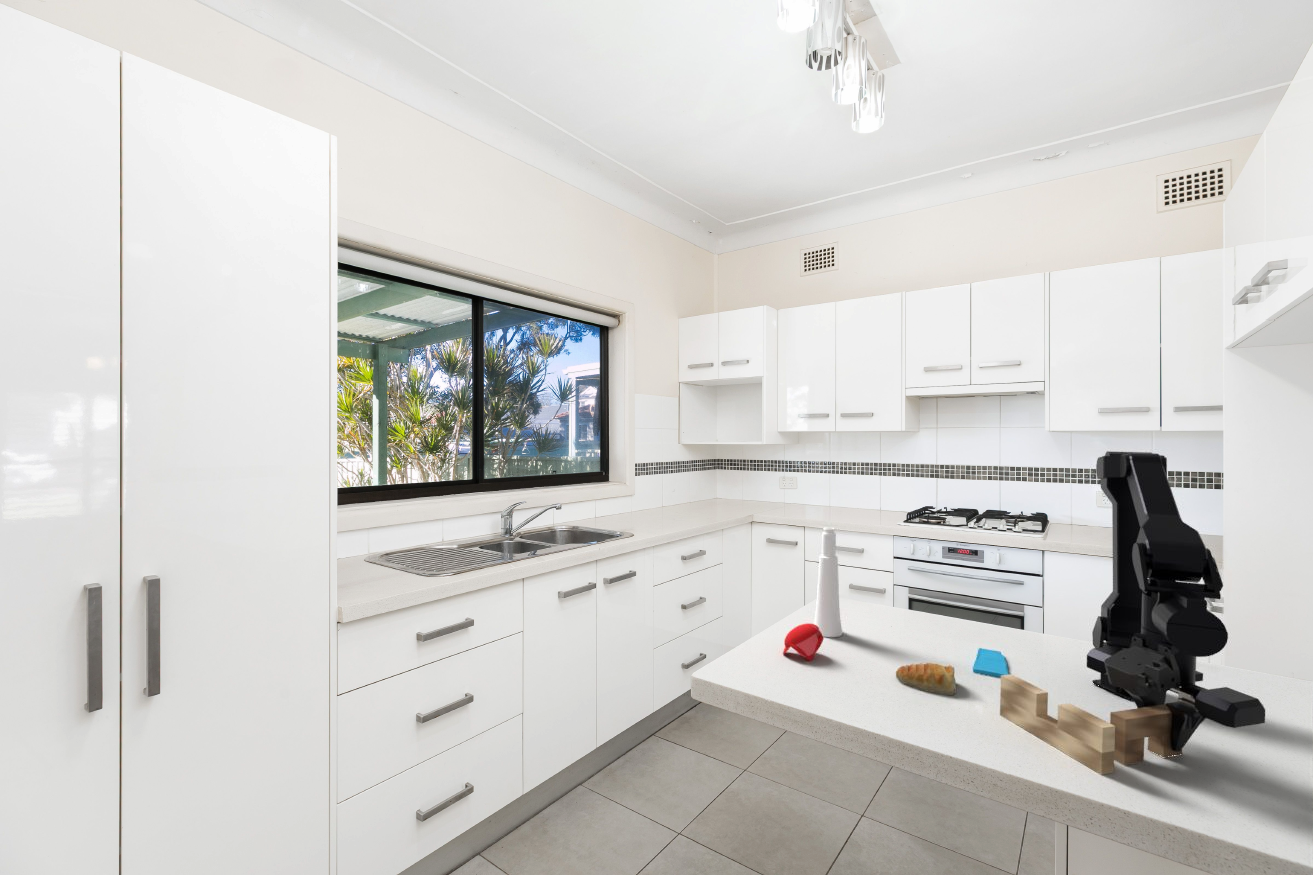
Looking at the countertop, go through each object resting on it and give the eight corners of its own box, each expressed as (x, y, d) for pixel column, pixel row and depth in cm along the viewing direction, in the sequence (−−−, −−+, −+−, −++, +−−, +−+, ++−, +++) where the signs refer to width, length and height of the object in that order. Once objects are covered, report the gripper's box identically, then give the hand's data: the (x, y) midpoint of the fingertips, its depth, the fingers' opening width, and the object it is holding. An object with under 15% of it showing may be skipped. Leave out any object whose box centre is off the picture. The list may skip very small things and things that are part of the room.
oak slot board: (999, 714, 92) (1000, 675, 92) (1010, 712, 92) (1011, 674, 92) (1101, 774, 76) (1102, 727, 76) (1113, 772, 77) (1115, 725, 77)
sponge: (1013, 654, 114) (978, 644, 117) (1010, 677, 104) (972, 665, 107) (1012, 662, 114) (977, 651, 117) (1009, 685, 104) (971, 673, 107)
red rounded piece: (824, 633, 117) (798, 614, 119) (830, 633, 112) (802, 613, 113) (802, 668, 116) (775, 649, 117) (807, 670, 110) (778, 650, 112)
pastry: (895, 688, 101) (895, 665, 101) (895, 673, 107) (896, 651, 107) (958, 698, 98) (958, 674, 98) (954, 682, 104) (955, 660, 104)
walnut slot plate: (1166, 746, 83) (1167, 703, 83) (1182, 754, 81) (1183, 710, 81) (1109, 756, 80) (1110, 712, 80) (1124, 764, 79) (1125, 719, 78)
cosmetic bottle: (843, 638, 123) (845, 531, 123) (812, 636, 125) (814, 529, 124) (841, 628, 129) (843, 526, 128) (812, 626, 130) (813, 524, 130)
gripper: (1058, 612, 88) (1055, 718, 89) (1202, 663, 70) (1197, 795, 71) (1117, 607, 91) (1114, 710, 91) (1270, 654, 73) (1265, 782, 73)
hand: (1164, 744), depth 82 cm, fingers open, 3 cm apart
